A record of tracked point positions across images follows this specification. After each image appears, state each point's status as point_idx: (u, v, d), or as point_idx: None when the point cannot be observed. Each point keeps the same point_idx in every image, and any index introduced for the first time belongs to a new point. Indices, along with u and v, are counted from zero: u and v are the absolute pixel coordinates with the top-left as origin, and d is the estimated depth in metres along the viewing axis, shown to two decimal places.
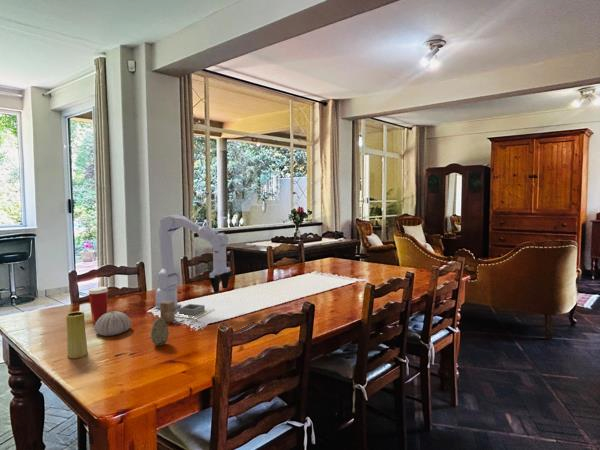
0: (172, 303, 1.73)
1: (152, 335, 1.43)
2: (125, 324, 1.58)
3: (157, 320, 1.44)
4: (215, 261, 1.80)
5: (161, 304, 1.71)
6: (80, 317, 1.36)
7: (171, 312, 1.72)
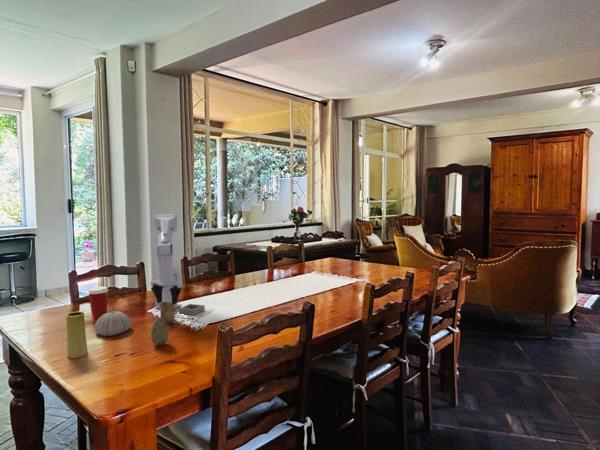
0: None
1: (152, 335, 1.43)
2: (125, 324, 1.58)
3: (157, 320, 1.44)
4: None
5: (161, 304, 1.71)
6: (80, 317, 1.36)
7: (170, 312, 1.72)
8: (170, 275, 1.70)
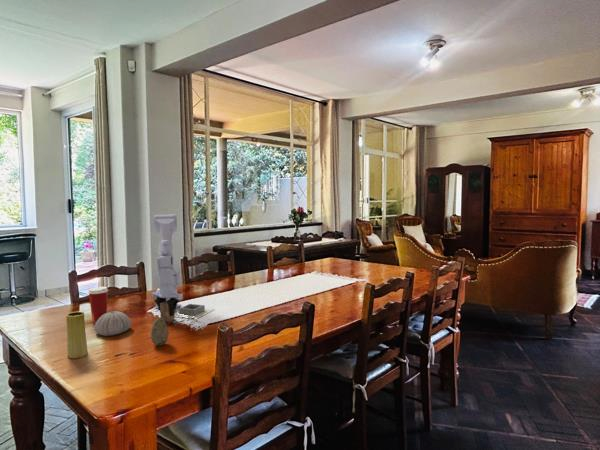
0: None
1: (152, 335, 1.43)
2: (125, 324, 1.58)
3: (157, 320, 1.44)
4: None
5: (161, 304, 1.71)
6: (80, 317, 1.36)
7: None
8: (170, 287, 1.71)
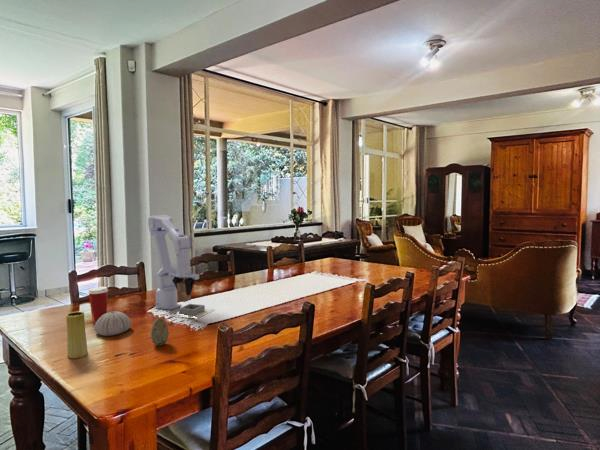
0: None
1: (152, 335, 1.43)
2: (125, 324, 1.58)
3: (157, 320, 1.44)
4: None
5: (178, 284, 1.78)
6: (80, 317, 1.36)
7: None
8: (187, 267, 1.77)
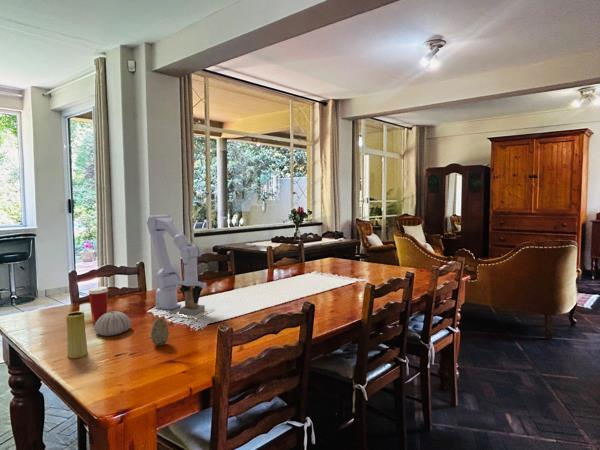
0: None
1: (152, 335, 1.43)
2: (125, 324, 1.58)
3: (157, 320, 1.44)
4: None
5: (185, 293, 1.81)
6: (80, 317, 1.36)
7: None
8: (195, 276, 1.80)
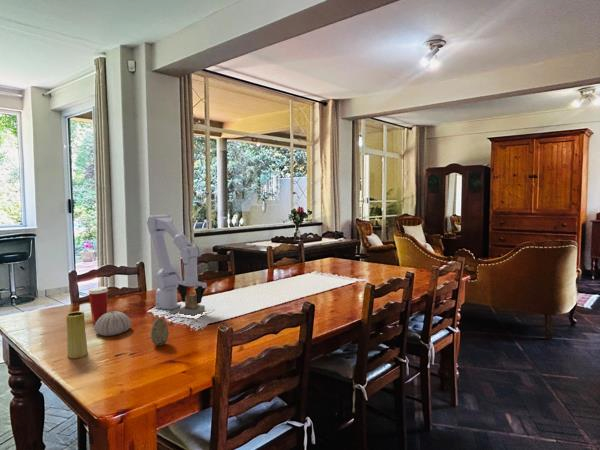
0: (196, 296, 1.83)
1: (152, 335, 1.43)
2: (125, 324, 1.58)
3: (157, 320, 1.44)
4: None
5: (186, 297, 1.81)
6: (80, 317, 1.36)
7: (195, 304, 1.82)
8: (195, 276, 1.80)
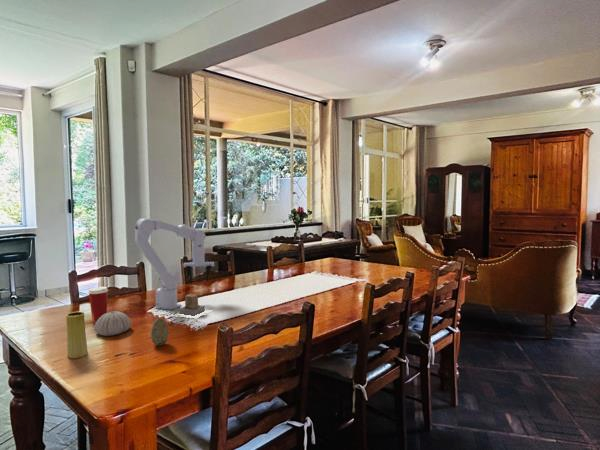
0: (196, 296, 1.83)
1: (152, 335, 1.43)
2: (125, 324, 1.58)
3: (157, 320, 1.44)
4: None
5: (186, 297, 1.81)
6: (80, 317, 1.36)
7: (195, 304, 1.82)
8: (203, 256, 2.00)
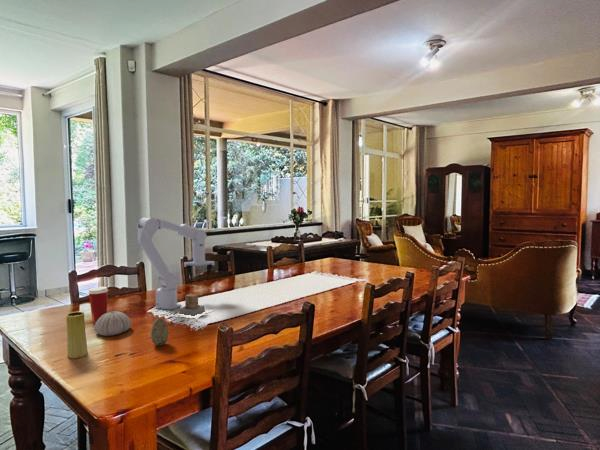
0: (196, 296, 1.83)
1: (152, 335, 1.43)
2: (125, 324, 1.58)
3: (157, 320, 1.44)
4: None
5: (186, 297, 1.81)
6: (80, 317, 1.36)
7: (195, 304, 1.82)
8: (204, 256, 2.02)
